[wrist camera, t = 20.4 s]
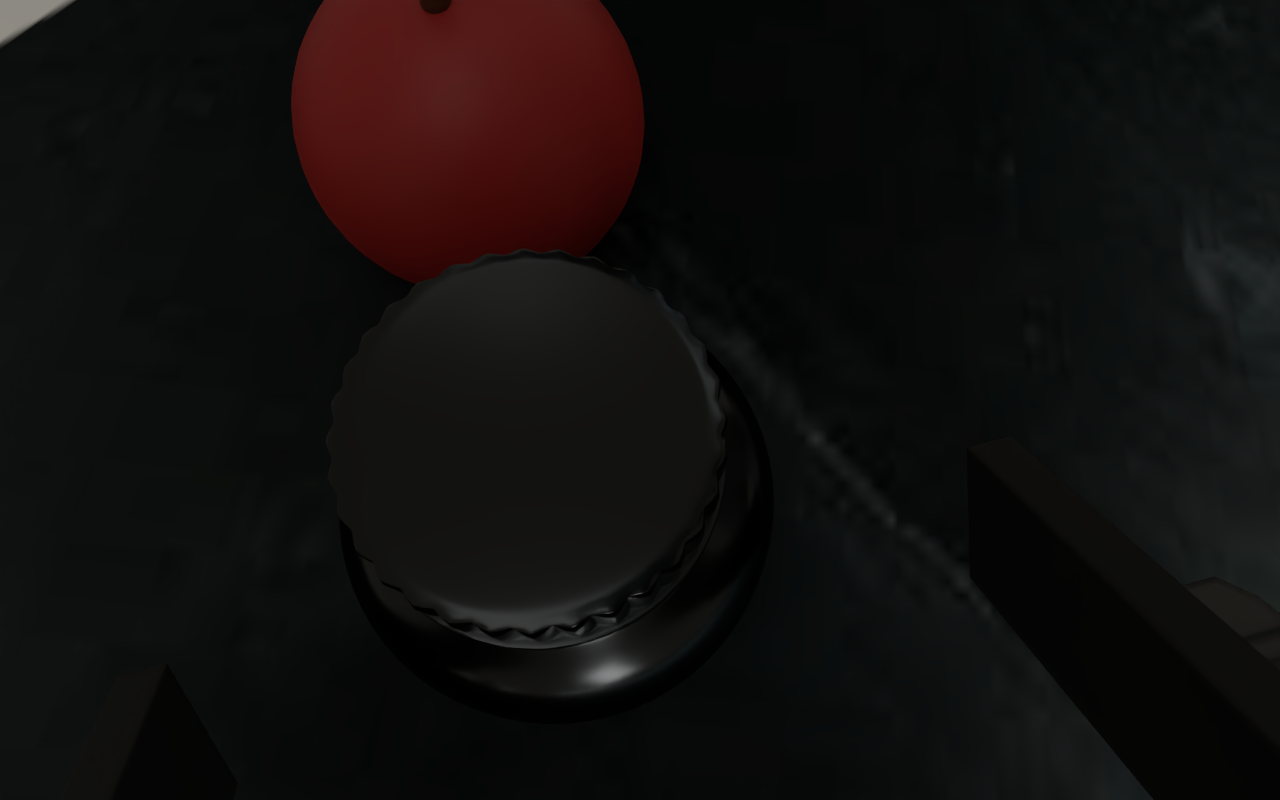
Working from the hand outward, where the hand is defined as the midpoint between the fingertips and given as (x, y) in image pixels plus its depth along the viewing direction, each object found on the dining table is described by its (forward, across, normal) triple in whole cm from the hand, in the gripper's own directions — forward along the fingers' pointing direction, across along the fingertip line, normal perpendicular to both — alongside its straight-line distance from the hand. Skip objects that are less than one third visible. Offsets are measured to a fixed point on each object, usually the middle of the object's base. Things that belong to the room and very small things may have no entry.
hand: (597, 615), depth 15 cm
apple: (+13, 0, +4) cm, 14 cm away
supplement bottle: (+6, 0, -4) cm, 7 cm away
